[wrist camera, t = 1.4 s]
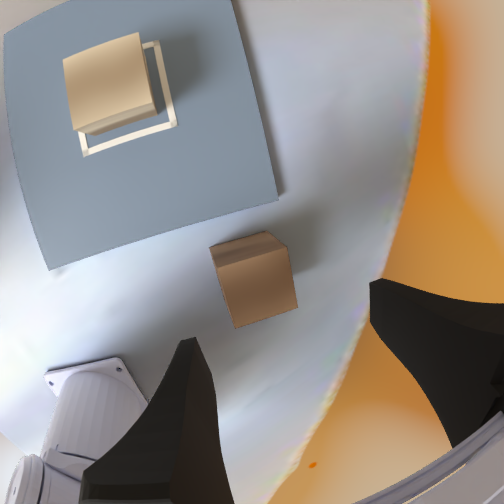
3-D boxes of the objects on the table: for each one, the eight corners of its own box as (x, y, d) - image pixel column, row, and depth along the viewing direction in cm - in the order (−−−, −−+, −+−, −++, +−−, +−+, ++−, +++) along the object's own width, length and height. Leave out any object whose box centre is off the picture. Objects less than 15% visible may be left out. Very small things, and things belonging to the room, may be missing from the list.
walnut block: (277, 282, 22) (298, 307, 18) (224, 299, 21) (235, 328, 17) (266, 230, 20) (286, 247, 17) (208, 247, 20) (217, 267, 16)
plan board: (275, 198, 20) (279, 200, 19) (52, 266, 17) (48, 271, 16) (218, -31, 13) (219, -37, 13) (8, 37, 11) (3, 34, 10)
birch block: (157, 115, 16) (152, 102, 12) (94, 136, 15) (73, 130, 11) (145, 57, 14) (138, 31, 11) (84, 78, 14) (62, 59, 10)
